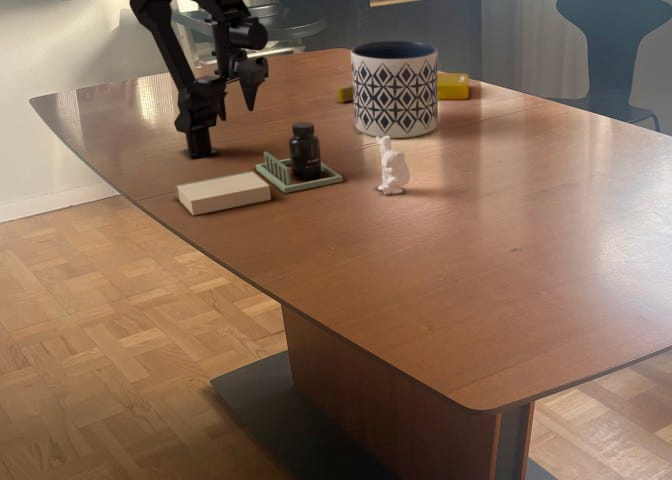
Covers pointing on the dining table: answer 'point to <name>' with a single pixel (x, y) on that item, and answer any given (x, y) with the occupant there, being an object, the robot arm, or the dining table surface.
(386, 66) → the planter
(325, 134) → the dining table surface
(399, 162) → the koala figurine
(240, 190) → the cream bevelled block
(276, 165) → the dish rack
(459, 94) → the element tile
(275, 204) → the dining table surface
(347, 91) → the medication box
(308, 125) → the supplement bottle
